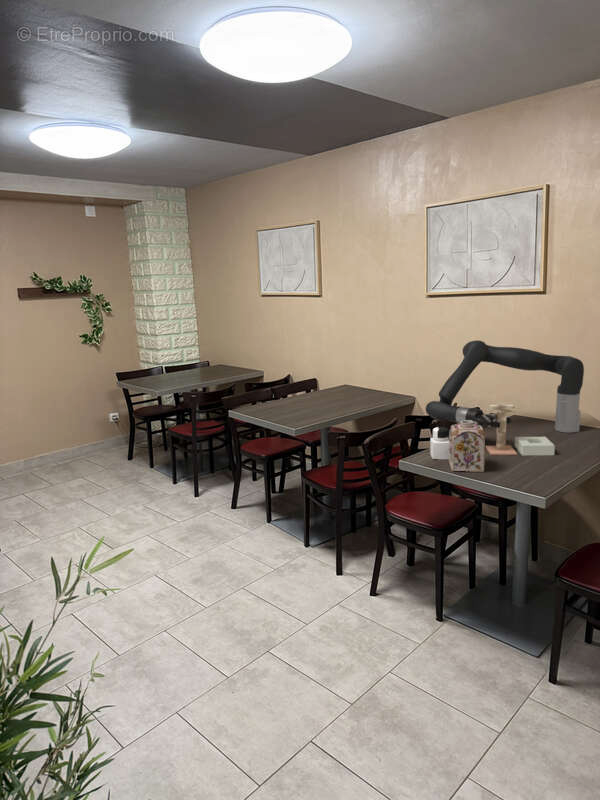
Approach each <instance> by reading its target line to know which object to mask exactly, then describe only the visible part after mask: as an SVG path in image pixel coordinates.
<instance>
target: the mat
mask: <svg viewBox="0 0 600 800" xmlns="http://www.w3.org/2000/svg"><path fill="white" fill-rule="evenodd" d="M485 449H486V450H487V452H488V453H489V455H491V456H493V455H494V456H495V455H496V456H498V455H499V456H500V455H501V456H506V455H507V456H509V455H517V452H516V450H515V449H514V448H513V447H512V445H505V450H500V451H498V450H497V449H496V445H485Z"/></svg>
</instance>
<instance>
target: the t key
mask: <svg viewBox="0 0 600 800" xmlns="http://www.w3.org/2000/svg"><path fill="white" fill-rule="evenodd" d="M489 412H490V413H496V414H497V422H500V427H499V428H497V427H496V434H495V435H496V437H495V446H496V449H497V450H498V451H500V450H505V446H507V444H506V443H507V441H506V439H507V438H506V437H507V423H506V417H508V416H507V415H508V413H515V404H489Z"/></svg>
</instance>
